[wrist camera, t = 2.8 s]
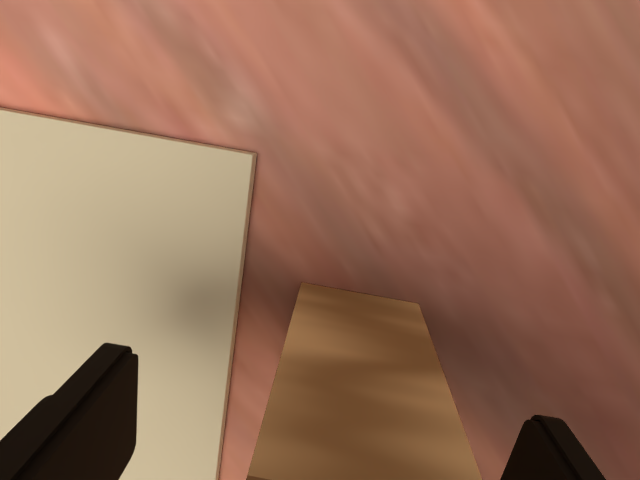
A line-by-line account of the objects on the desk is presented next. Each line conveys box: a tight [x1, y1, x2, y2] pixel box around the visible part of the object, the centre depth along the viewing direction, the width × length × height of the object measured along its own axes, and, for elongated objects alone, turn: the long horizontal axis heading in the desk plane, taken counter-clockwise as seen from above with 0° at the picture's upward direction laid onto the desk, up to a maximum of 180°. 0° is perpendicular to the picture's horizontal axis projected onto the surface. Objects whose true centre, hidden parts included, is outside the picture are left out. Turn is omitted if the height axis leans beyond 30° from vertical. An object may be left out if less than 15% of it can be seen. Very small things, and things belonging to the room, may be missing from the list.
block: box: [246, 282, 482, 480], centre depth 11 cm, size 4×4×8 cm
